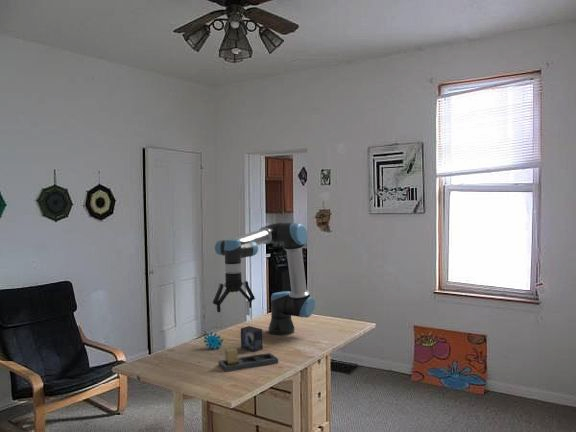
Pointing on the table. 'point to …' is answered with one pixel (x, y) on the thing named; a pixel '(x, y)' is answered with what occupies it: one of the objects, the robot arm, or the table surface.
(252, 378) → the table surface
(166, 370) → the table surface
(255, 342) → the small box
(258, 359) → the grey flat frame
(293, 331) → the robot arm
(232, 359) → the olive yellow block
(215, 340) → the gear
